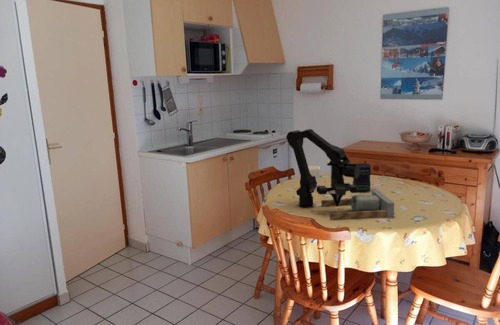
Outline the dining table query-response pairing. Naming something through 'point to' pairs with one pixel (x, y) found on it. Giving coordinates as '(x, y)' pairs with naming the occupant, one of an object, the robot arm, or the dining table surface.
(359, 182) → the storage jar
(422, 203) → the dining table surface
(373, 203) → the spool
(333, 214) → the guide rails
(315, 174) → the foam cup
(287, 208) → the dining table surface
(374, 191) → the end stop
